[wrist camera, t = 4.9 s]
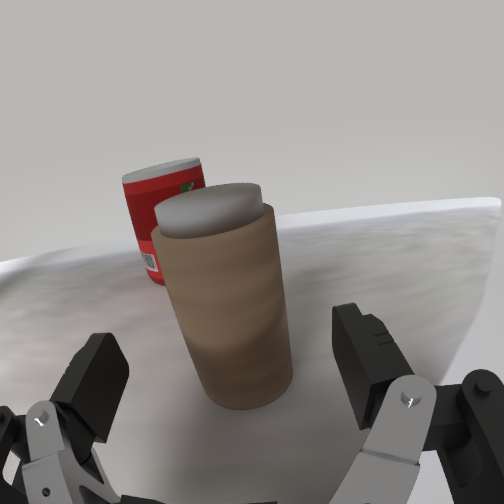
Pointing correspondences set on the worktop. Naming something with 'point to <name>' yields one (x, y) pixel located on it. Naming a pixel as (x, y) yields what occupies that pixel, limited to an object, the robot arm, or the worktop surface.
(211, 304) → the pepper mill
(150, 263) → the canned food
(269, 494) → the worktop surface
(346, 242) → the worktop surface
